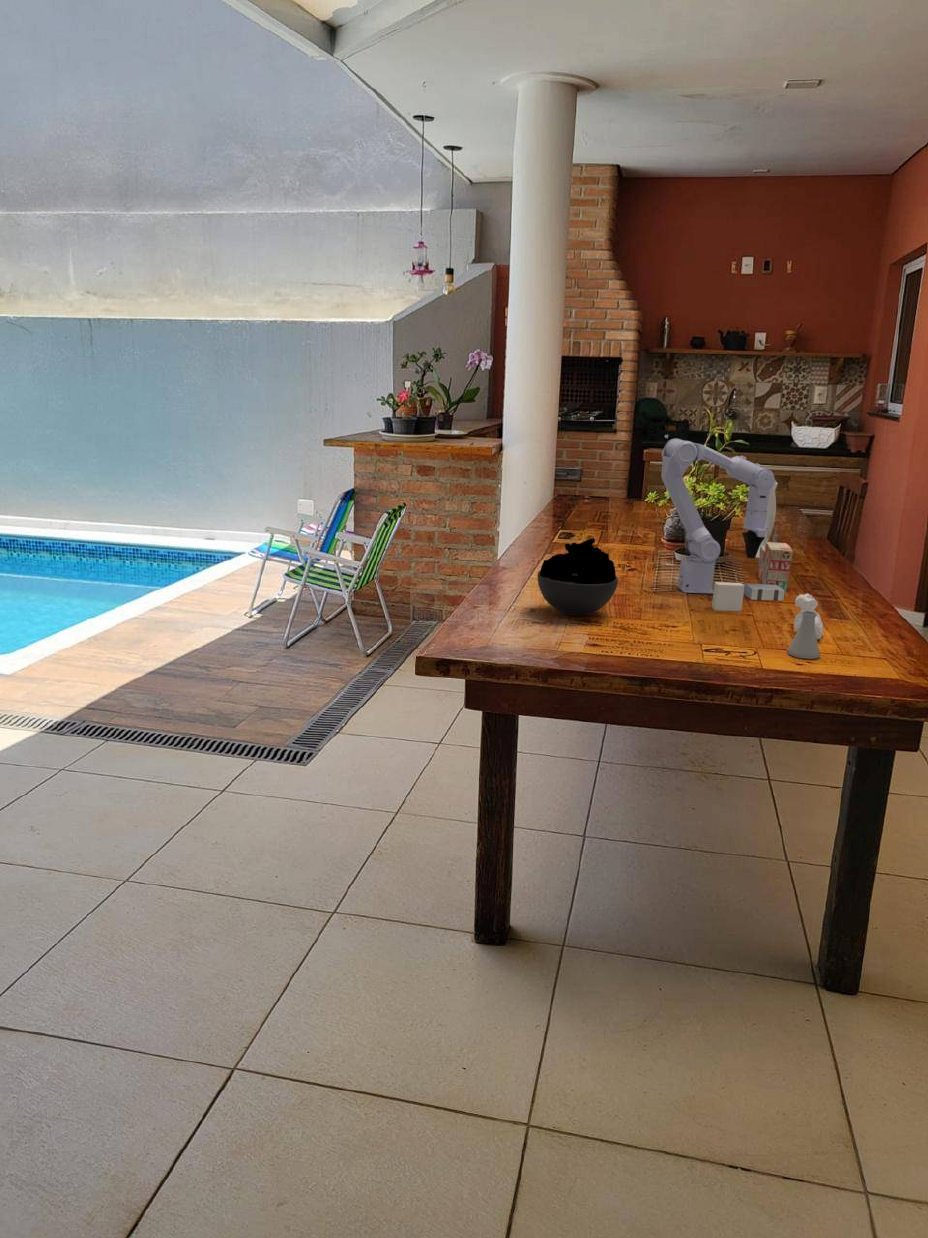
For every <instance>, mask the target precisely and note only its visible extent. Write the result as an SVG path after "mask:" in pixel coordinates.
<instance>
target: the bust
mask: <svg viewBox="0 0 928 1238" xmlns="http://www.w3.org/2000/svg"><path fill="white" fill-rule="evenodd" d="M794 604H795V607H797V608H801V610H800V611H799V612H798V613H797V614H796V615H795V619H794V621H793V622H794V623H793V626H794V629H795V631H796V632H797V631H798V629H799V628H800V625H801V622H802V618H803V614H802V611H813V612H816V613H817V616H816V617H815V634H816V639H817V640H820V639H822V636H823V633H824V631H825V629H824V624H823V621H822V618H821V615H820V614H819V612H817V611H816V608H817V607H818V606H819V604H818V601H817V600H816V599H815V598H814V597H813V595H812V594H809V593H805V594H802V593H800V594H799V595H797V596H796V599H795V601H794Z"/></svg>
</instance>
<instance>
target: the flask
mask: <svg viewBox="0 0 928 1238" xmlns="http://www.w3.org/2000/svg"><path fill="white" fill-rule="evenodd" d="M816 612H817V611H816ZM816 612H813V611H802V614H803V618H802V622H801V625H800V628H799V629H798V631H796V633H795V635H794V637H793V639H792V640H791V642H790V644H789V646H788V647H787V650H786V652H787V654H788V655H790V656H792V657H795V658H798V659H806V660H814V659H815V660H816V659H821V653H820V648H819V645H818V639H816V634H815V617H816V616H817V613H818V612H817V613H816Z"/></svg>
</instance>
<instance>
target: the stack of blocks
mask: <svg viewBox="0 0 928 1238" xmlns="http://www.w3.org/2000/svg"><path fill="white" fill-rule="evenodd" d="M793 554H794V550H793V549H792V548H791V546H790V545H789V544H787V543H786V542H777V543H774V542H773V541H772V542H771V541H768V542H766V544H765V547H762V546H761V547H760V555H759V556H760V558H759V559H758V567H757V576H758V578H759V580H760V582H761V584H766V585H777V586H779V587H780V588H782V589H783V590H785V592H788V587H789V580H790V579H789V578H790V573H791V567H792V560H793Z"/></svg>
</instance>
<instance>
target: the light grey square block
mask: <svg viewBox="0 0 928 1238" xmlns="http://www.w3.org/2000/svg"><path fill="white" fill-rule="evenodd" d="M744 587H745V584H743V583H741V582H723V581H722V582H721V581H715V582H714V586H713V590H714V594H713V596H712V602H711V604H712V606H711V609H713V610H714V611H719V612H721V611H722V612H729V611H730V612H742V608H743V600H744V595H745V594H744Z"/></svg>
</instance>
